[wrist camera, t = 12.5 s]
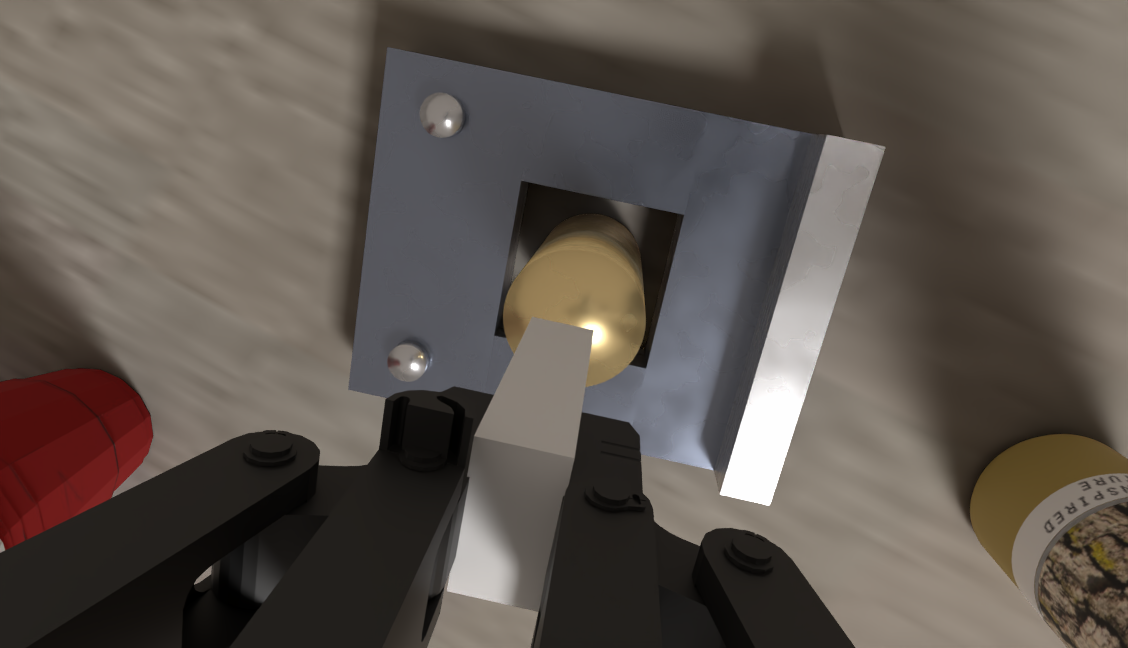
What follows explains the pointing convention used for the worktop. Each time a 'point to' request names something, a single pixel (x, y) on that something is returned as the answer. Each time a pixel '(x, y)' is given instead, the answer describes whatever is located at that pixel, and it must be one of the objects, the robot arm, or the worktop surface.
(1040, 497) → the paper tube
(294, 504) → the robot arm
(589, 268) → the brass cylinder
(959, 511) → the worktop surface
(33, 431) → the plastic cup
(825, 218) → the jig
